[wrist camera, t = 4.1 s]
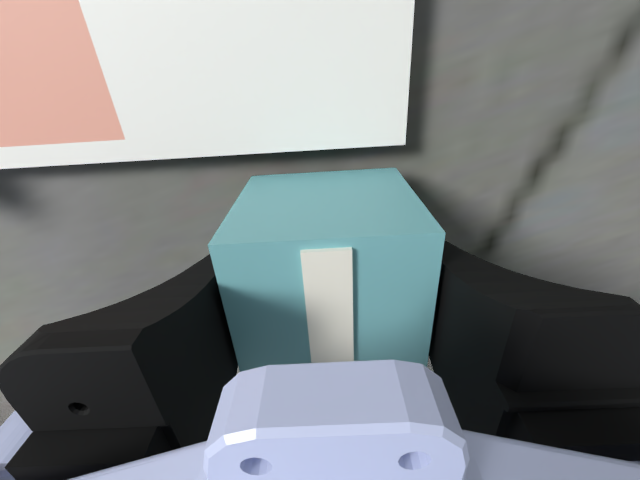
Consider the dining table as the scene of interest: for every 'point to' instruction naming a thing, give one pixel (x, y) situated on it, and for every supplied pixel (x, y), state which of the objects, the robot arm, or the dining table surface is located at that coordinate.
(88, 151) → the tray
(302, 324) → the cube
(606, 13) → the dining table surface
